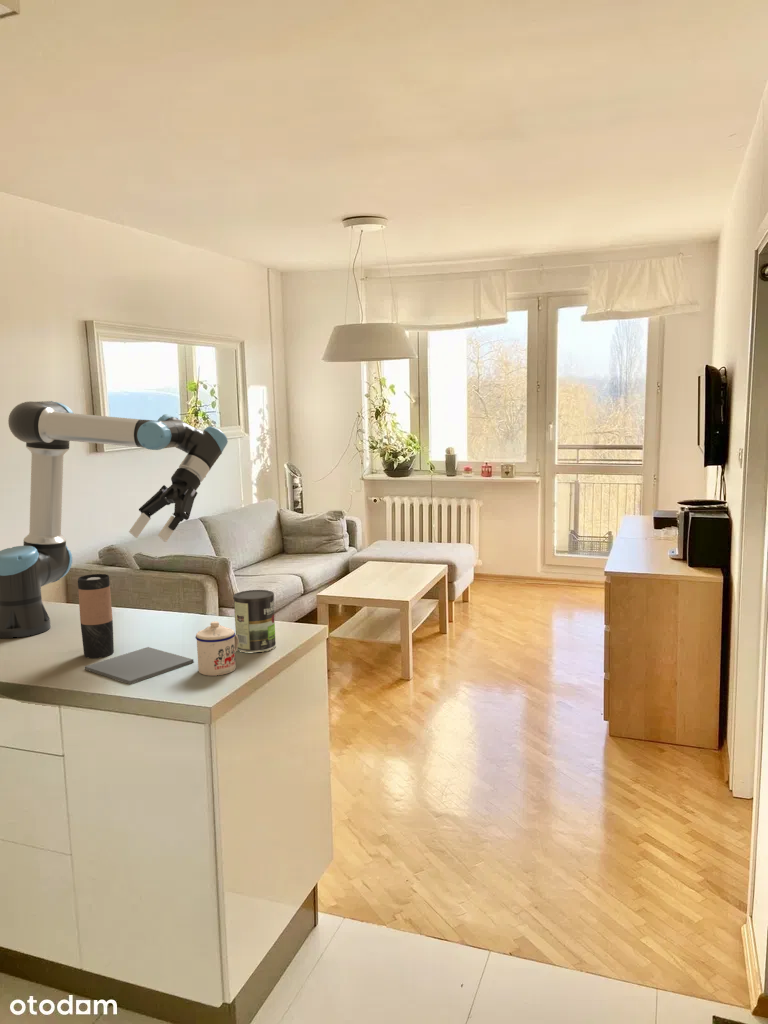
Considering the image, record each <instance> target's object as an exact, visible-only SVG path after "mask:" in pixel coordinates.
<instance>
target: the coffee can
mask: <svg viewBox="0 0 768 1024" xmlns="http://www.w3.org/2000/svg"><path fill="white" fill-rule="evenodd" d="M274 596H275V593H274V591H272V590H269V589H268V590H267V589H250V590H244V591H239V592H236V593H234V594H233V596H232V598H233V605H234V607H233V608H234V626H235V627H234V628H235V635H237V636H238V639H239V644H238V648H237V650H239V651H241V652H240V653H242V652H262V653H265V652H264V651H267V652H270V651H272V650H274V649H275V648H276V647H277V644H276V622H275V621H276V619H275V597H274ZM273 648H274V649H273ZM271 649H272V650H271ZM237 650H236V651H237ZM269 650H270V651H269ZM239 651H238V652H239Z"/></svg>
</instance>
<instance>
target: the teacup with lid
mask: <svg viewBox="0 0 768 1024" xmlns="http://www.w3.org/2000/svg"><path fill="white" fill-rule="evenodd" d="M195 639H196V650H197V668H198V673H199V674H201V675H204V676H209V677H210V676H211V677H215V676H216V677H217V675H218V676H222V675H223V676H224V675H227V674H231V673H232V672H234V671H235V670H236V664H237V663H236V651H237V648H238V644H239V639H238V636H237V635H236V632H235V631H234V629H232V628H230V627H225V626H223V625H222V624H221V625H220V622H219V621H215V620H214V621H211V622H210V623H209V626H207V627H205V628H203V629H201V630H199V631H197V633H196V634H195Z"/></svg>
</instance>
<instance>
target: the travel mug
mask: <svg viewBox="0 0 768 1024" xmlns="http://www.w3.org/2000/svg"><path fill="white" fill-rule="evenodd" d="M110 583H111V582H110V575H109V574H106V573H91V574H87V575H81V576H79V577H78V579H77V589H78V590H77V591H78V603H79V604H78V605H79V606H78V607H79V620H80V629H81V638H82V649H83V655H84V657H85V658H87V657H89V658H88V659H100V658H99V657H102V658H106V657H109V656H111V655H113V654H114V652H115V649H114V647H115V646H114V621H113V607H112V595H111V585H110ZM105 656H106V657H105Z"/></svg>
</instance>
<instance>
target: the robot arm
mask: <svg viewBox="0 0 768 1024" xmlns="http://www.w3.org/2000/svg"><path fill="white" fill-rule="evenodd" d="M7 424H8V427H9V430H10V432H11V433H12V435H13V436H14V437H15V438H16V439H18V440H19V441H21V442H24V443H25V448H26V449H27V450H29V452H30V453H31V459H30V461H31V463H30V464H31V465H30V469H31V470H30V495H29V496H30V499H29V500H30V501H29V533H28V534H27V535H26V536H25V537H24V538H23V545H18V546H17V545H16V546H12V547H7V548H4V549H2V550H0V638H1V639H14V638H13V637H17V638H24V637H30V635H31V636H34V635H39V634H41V633H44V632H46V631H48V630H50V629H51V627H52V626H51V625H52V624H51V619H50V617H49V614H48V612H47V609H46V608H45V605H44V604H43V599H42V587H45V586H46V585H48V584H51V583H55V582H57V581H59V580H61V579H62V578H63V577H65V576H66V575H67V574H68V573H69V571H70V569H71V568H72V564H73V554H72V551H71V550H70V549H69V547H68V546H67V539H66V538H65V537H64V536H63V535H62V511H63V509H62V507H63V505H62V504H63V478H64V476H63V475H64V455H65V454H66V453H67V452H68V451H69V450H70V442H79V443H88V444H89V443H91V444H101V445H102V444H103V445H112V446H113V445H114V446H124V447H136V448H143V449H144V448H145V449H147V450H149V451H152V450H153V451H160V450H163V449H169V448H176V449H178V450H180V451H182V452H184V453H186V455H185V457H184V459H183V460H182V461H181V462H180V464H179V466H178V468H177V469H175V471H174V473H172V476H171V478H170V480H171V485H170V486H168V487H167V486H166V485H165V484H163V485H162V486H161V487H160V489H158V491H157V492H156V493H155V494H153V495H152V496H151V497H150V498H149V499H148V500H147V501H146V502H144V504H142V506H140V507H139V508H138V511H139V512H140V515H139V517H138V518H137V519H136V521H135V522H134V524H133V525H132V527H131V528H130V530H129V531H128V533H129V534H131V535H132V536H133V537H134V538H136V539H137V538H138V537H139V536H140V534H142V532H143V530H144V529H145V527H146V526H147V525H148V523H149V521H150V520H151V519H152V518H151V517H152V516H153V515H154V514H156V513H157V512H159V511H160V510H161V509H163V508H164V507H165V506H170V505H171V504H174V512H173V513H172V515H170V517H169V518H168V520H167V521H166V523H165V524H164V526H163V527H162V529H161V530H160V531H159V533H158V534H157V537H159V538H160V539H161V540H162V541H163V542H165V543H166V542H168V540H169V539H170V537H171V536H172V534H173V533H174V531H175V530H176V528H178V526H179V524H180V522H183V521H184V520H185V521H188V520H189V519H190V516H191V512H192V508H193V505H194V502H195V499H196V497H197V495H198V494H199V493H198V492H197V490H198V488H200V485H201V483H202V482H203V481H204V479H205V478H206V477H207V474H208V473H210V471H211V469H212V468H213V466H214V464H215V463H216V461H218V459H219V458H220V457H221V455H223V452H224V450H225V448H226V447H227V445H228V442H229V441H228V437H227V436H226V434H225V433H224V432H223V431H222V430H220V429H219V428H218V427H214V426H211V425H209V426H207V427H205V428H204V429H203V430H202V429H198V428H196V427H195V426H193V425H191V424H188V423H187V422H185V421H183V420H181V419H179V417H176V416H173V415H171V414H167V413H166V414H162V416H159V418H158V419H157V420H151V419H141V418H131V417H130V418H127V417H120V416H119V417H117V416H107V415H95V414H84V413H74V411H73V410H72V409H71V408H70V407H69V406H68V405H66V404H64V403H62V402H57V401H53V400H48V401H47V400H46V401H24V402H21V403H19V404H17V405H16V406H14V407H13V408H12V409H11V411H10V413H9V415H8V423H7Z"/></svg>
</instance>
